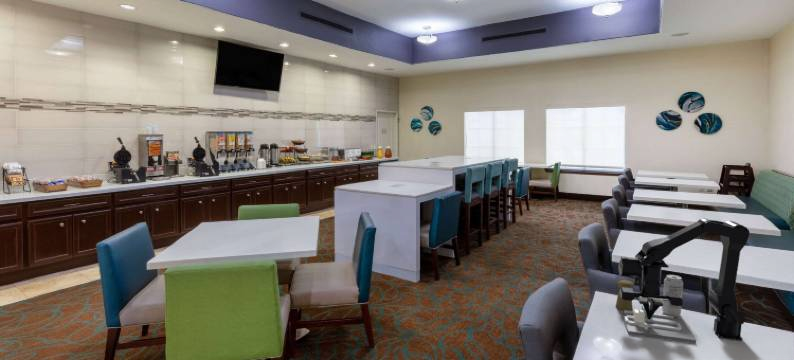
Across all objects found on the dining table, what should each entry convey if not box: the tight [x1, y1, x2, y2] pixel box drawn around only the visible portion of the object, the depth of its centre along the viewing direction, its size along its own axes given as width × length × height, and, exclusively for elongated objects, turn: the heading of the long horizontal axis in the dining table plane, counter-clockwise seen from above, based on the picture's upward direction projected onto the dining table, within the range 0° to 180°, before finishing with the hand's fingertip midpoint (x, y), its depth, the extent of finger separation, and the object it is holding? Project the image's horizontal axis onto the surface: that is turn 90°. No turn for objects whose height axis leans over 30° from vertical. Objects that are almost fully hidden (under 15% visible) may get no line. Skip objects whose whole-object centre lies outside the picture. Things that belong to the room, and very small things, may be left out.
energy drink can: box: [661, 274, 684, 318], centre depth 159 cm, size 6×6×15 cm
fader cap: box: [633, 308, 645, 323], centre depth 151 cm, size 3×3×4 cm
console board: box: [620, 304, 697, 344], centre depth 150 cm, size 20×16×5 cm
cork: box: [615, 279, 634, 312], centre depth 166 cm, size 6×6×11 cm
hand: (648, 318), depth 150 cm, fingers closed
